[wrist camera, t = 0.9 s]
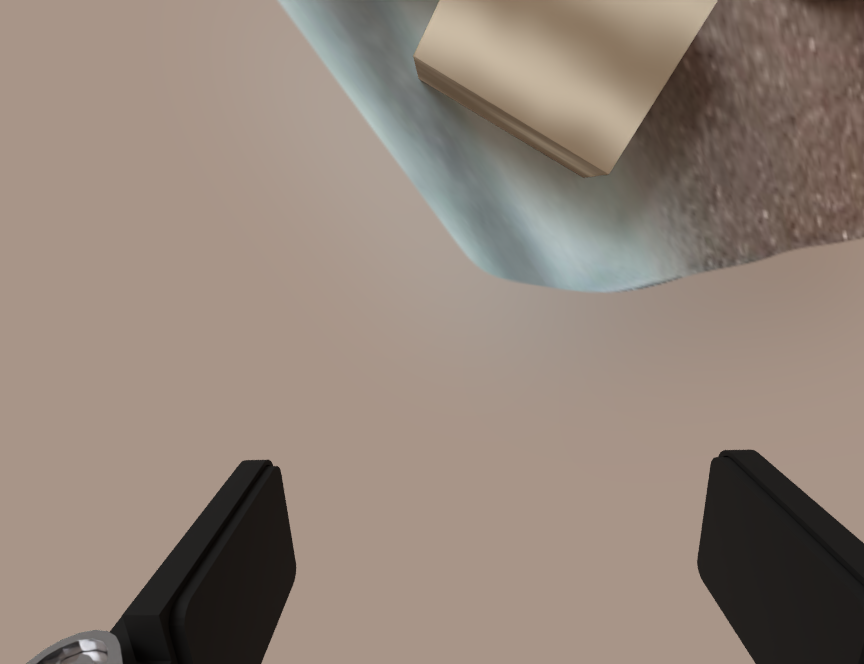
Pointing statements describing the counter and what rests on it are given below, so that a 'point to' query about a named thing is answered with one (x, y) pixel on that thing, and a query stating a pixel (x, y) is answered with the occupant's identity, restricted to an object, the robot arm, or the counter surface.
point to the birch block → (560, 68)
